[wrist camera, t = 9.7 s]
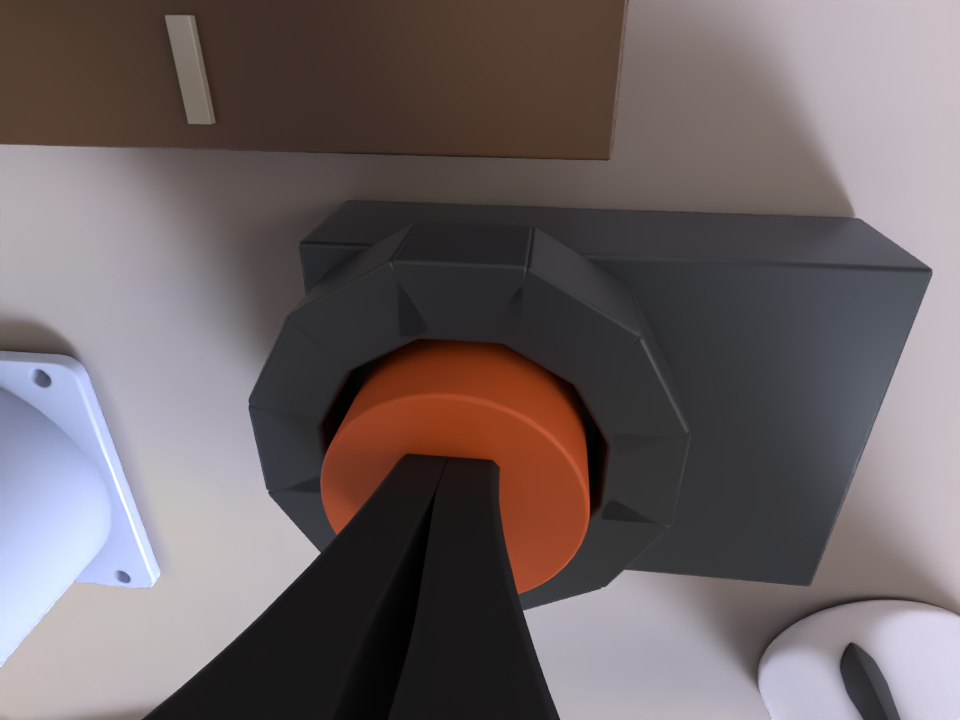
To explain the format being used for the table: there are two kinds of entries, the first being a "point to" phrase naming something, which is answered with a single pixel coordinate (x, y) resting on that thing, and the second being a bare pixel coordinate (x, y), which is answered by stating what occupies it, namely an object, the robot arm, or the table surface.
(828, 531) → the button housing
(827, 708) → the silver metal cup
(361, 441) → the orange button
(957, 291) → the table surface
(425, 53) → the dial panel
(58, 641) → the table surface
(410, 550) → the robot arm
